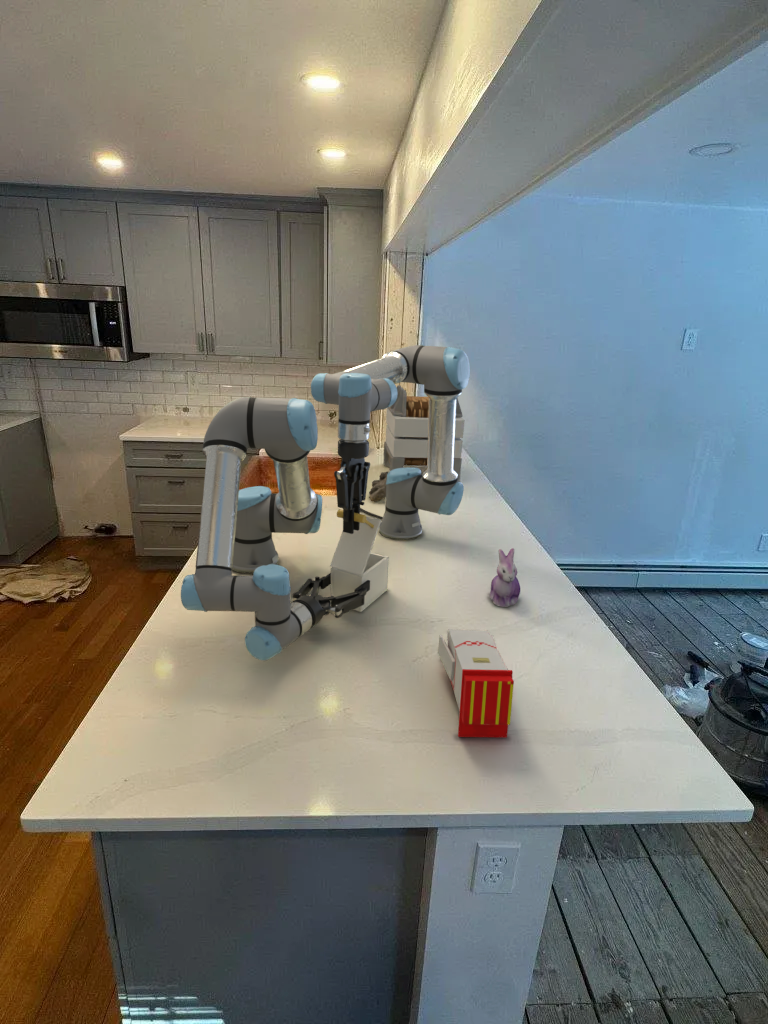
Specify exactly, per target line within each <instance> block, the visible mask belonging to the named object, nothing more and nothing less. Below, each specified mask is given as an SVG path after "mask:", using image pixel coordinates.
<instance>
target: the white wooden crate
mask: <svg viewBox="0 0 768 1024" xmlns="http://www.w3.org/2000/svg"><path fill="white" fill-rule="evenodd" d="M396 388H397V392H398V395H397V399H396V402H395V403H394V404H393V405H392V406H390V407H388V408H386V413H385V414H386V415H385V423H386V428H385V438H384V442H383V466H384V467H388V468H389V472H390V471H391V470H393V469H397V468H405V466H406V467H409V466H411V467H417V466H418V467H427V455H428V413H429V397H428V396H415V395H414V396H413V395H412V396H411V395H407V394H408V393H407V390H406V389H404V388H403V387H402V385H399V384H398V385H396ZM464 429H465V419H464V418H463V411H462V408H461V405H460V402H459V398H458V397H457V400H456V422H455V444H454V467H453V470H454V471H455V472H456V473H457V474H458V482H461V472H462V461H463V460H462V453H463V442H464V441H463V440H462V439H463V438H464V431H465V430H464Z"/></svg>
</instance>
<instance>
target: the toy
mask: <svg viewBox="0 0 768 1024" xmlns="http://www.w3.org/2000/svg"><path fill="white" fill-rule="evenodd" d="M446 640H447V643H446V641H445V639H444V636H443V635H442V634H439V637H438V646H437V656H438V657H439V659H440V661H441V663H442V666H443V668H444V670H445V672H446V674H447V677H448V679H449V681H450V684H451V687H452V690H453V693H454V697H455V701H456V705H457V708H458V711H459V714H458V715H459V716H458V730H457V731H458V732H457V737H458V738H508V731H509V726H510V725H511V717H512V707H513V697H514V696H513V695H514V684H515V680H514V679H513V673H514V671H513V670H512V669H508V667H507V665H506V662H505V661H504V659H503V658H502V655H501V653H500V651H499V649H498V647H497V643H496V639H495V637H494V635H493V634H491V632H490V631H489V629H467V628H466V629H465V628H463V629H461V628H460V629H459V628H448V630H447V639H446Z"/></svg>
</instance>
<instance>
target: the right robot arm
mask: <svg viewBox="0 0 768 1024" xmlns="http://www.w3.org/2000/svg"><path fill="white" fill-rule="evenodd" d="M470 377H471V365H470V361H469V357H468V355H467V353H466V352H465V351H464V349H461V348H457V347H451V346H440V345H439V346H437V345H436V346H435V345H423V344H421V345H420V344H416V345H408V346H405V347H401V348H397V349H394V350H390V351H388V352H385V353H384V354H383V356H382V357H381V358H377V359H375V360H371V361H369V362H367V363H363V364H361V365H357V366H354V367H352V368H348V369H345V370H342V371H338V372H336V373H328V372H325V373H323V372H322V373H321V372H320V373H316V374H315V376H314V377H313V378H312V380H311V383H310V394H311V397H312V398H313V400H315V401H316V402H318V403H324V404H325V405H335V406H338V421H337V438H338V441H337V455H338V456H339V457H340V458H341V462H340V468H339V470H334V473H333V476H334V479H335V488H336V502H337V503H336V504H337V508H338V509H342V510H343V518H342V531H343V532H346V533H350V534H353V533H354V530H357V531H358V530H359V523H360V522H356V521H354V513H358V514H361V512H362V513H364V514H365V515H367V516H370V517H372V518H377V519H381V520H382V521H381V524H380V526H379V529H378V533H379V534H380V535H381V536H382V537H385V538H387V539H389V540H395V541H410V540H415V539H418V538H420V537H421V536H422V535H423V525H422V524H421V518H420V515H419V510H421V511H425V512H429V513H433V514H438V515H443V516H452V515H453V514H454V513H456V511H457V510H458V508H459V506H460V504H461V502H462V499H463V496H464V491H465V489H464V488H465V487H464V483H462V482H461V481H460V482H458V474H457V473H456V472H455V471H454V470H453V467H454V444H455V422H456V400H457V398H458V397H459V396H461V395H462V393H463V390H464V389H466V388H467V387H468V385H469V381H470V380H469V379H470ZM400 383H409V384H415V385H416V384H417V385H423V393H424V394H425V395H426V397H429V413H428V455H427V466H426V470H424V471H423V472H422V470H421V468H419V467H414V466H411V467H409V466H406V467H404V468H397V469H393V470H391V471H390V470H389V471H388V474H387V481H386V497H385V504H384V505H385V507H384V508H385V509H384V513H383V515H382V516H381V515H378V514H376V513H372V512H369V511H367V510H366V509H363V508H362V507H361V506H365V500H366V498H367V490H368V489H367V487H368V478H369V470H370V467H371V462H370V461H366V459H365V458H367V457H368V456H369V454H370V442H369V439H370V432H371V428H370V422H371V413H372V412H376V411H381V410H382V411H383V410H387V408H388V407H390V406H392V405H393V404H394V403H395V402H396V399H397V395H398V392H397V384H400Z"/></svg>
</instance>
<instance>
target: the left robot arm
mask: <svg viewBox="0 0 768 1024" xmlns="http://www.w3.org/2000/svg"><path fill="white" fill-rule="evenodd" d="M313 404H314V403H312V402H311V401H310V400H308V399H300V398H296V397H291V398H289V397H288V398H287V397H285V398H282V397H252V396H243V397H239V398H236V399H232V400H231V401H229V402H228V403H226V404H225V405H224V406H223V407H222V408H221V409H219V410H218V412H216V414H215V415H214V417H213V418H212V419H211V421H210V423H209V424H208V427H207V429H206V431H205V434H204V438H203V442H202V443H203V444H202V454H203V456H204V457H205V458H206V461H205V469H204V478H203V479H204V480H203V491H202V499H201V500H202V501H201V510H200V511H201V512H200V519H199V529H198V539H197V548H196V559H195V571H194V573H191V574H187V575H185V576H184V577H183V580H182V584H181V587H180V600H181V605H182V606H183V608H184V609H186V610H187V611H198V612H199V611H200V612H204V613H207V612H244V613H245V612H246V613H247V612H248V613H253V612H254V626H252V627H251V628H250V629H249V630H248V631H247V632H246V634H245V637H244V644H245V648H246V650H247V651H248V653H249V654H250V655H251V656H252V657H253V658H255V659H257V660H259V661H263V662H265V661H268V660H270V659H272V658H274V657H275V656H276V655H279V654H280V653H282V651H284V650H285V649H287V647H288V646H290V645H291V644H292V643H294V642H295V641H296V640H298V639H299V638H301V637H302V636H303V635H305V634H306V633H307V632H308V631H310V630H311V629H313V628H314V627H315V626H317V625H318V624H319V623H320V622H321V621H322V620H323V618H324V616H328V615H330V614H331V615H334V618H335V619H340V618H341V617H342V616H343V615H345V614H347V613H350V612H351V611H355V610H354V609H356V608H358V607H360V606H362V605H364V601H365V595H366V592H368V591H369V590H370V580H367V581H366V582H364V583H363V584H361V585H360V586H359V587H357V588H356V589H355V590H354V592H352V593H348V594H344V595H340V596H336V597H334V596H331V595H329V596H323V595H321V594H319V593H320V589H321V590H325V589H326V588H327V587H329V586H331V572H330V573H328V574H326V575H325V576H322V577H320V576H315V577H314V579H313V578H311V577H309V578H307V579H306V581H305V582H304V583H303V584H302V585H301V587H300V588H299V589H298V590H296V591H295V592H293V593H292V602H291V591H292V588H291V582H290V573H289V571H288V569H287V568H286V567H284V566H283V565H279V562H280V561H279V559H280V557H279V553H278V551H277V550H276V546H275V542H274V541H273V533H275V534H276V533H279V534H305V535H309V534H317V533H318V532H319V530H320V528H321V521H322V513H323V496H322V495H321V494H318V493H315V491H314V490H313V488H312V487H311V481H310V480H311V479H310V472H309V461H308V455H310V453H311V451H314V450H315V449H316V448H317V445H318V440H319V439H318V436H319V435H318V434H319V433H318V423H317V422H318V418H317V413H316V409H315V407H314V405H313ZM248 449H252V450H264V452H265V454H266V455H267V457H269V459H271V460H272V462H273V466H274V473H275V477H276V483H277V488H278V492H277V493H275V492H274V493H273V492H272V490H271V488H270V487H268V486H265V485H264V486H263V485H258V486H257V485H255V486H248V487H245V488H241V489H240V482H241V470H242V462H243V461H244V460H246V458H247V456H248V455H247V454H248ZM233 572H237V573H239V574H253V575H235V574H234V575H233ZM309 594H310V595H309Z"/></svg>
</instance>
